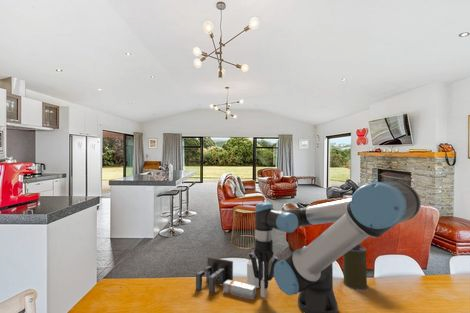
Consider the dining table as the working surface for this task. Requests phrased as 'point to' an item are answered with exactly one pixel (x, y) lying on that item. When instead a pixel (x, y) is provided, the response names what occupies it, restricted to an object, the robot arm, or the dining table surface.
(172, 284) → the dining table surface
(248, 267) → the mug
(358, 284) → the canister
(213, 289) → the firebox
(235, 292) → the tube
